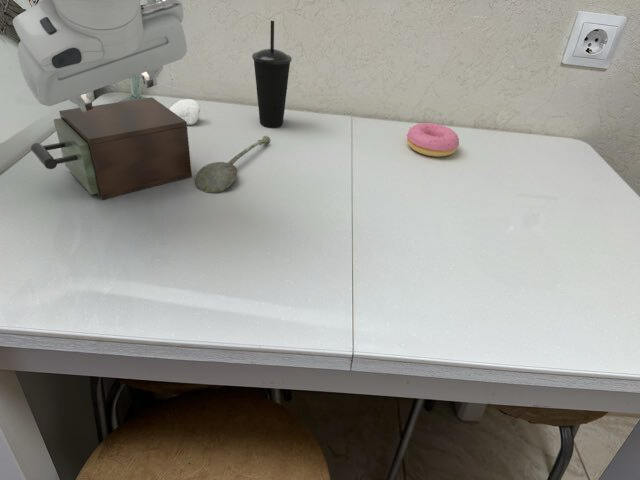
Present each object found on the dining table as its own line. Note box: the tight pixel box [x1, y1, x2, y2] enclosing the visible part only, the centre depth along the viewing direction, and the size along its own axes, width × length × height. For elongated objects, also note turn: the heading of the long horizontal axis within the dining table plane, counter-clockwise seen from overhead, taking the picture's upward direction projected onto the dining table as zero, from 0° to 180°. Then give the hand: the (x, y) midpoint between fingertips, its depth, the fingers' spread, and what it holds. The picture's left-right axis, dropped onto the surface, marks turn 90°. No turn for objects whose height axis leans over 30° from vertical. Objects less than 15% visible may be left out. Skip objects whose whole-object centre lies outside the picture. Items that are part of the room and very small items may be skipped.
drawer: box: [30, 117, 99, 195], centre depth 76 cm, size 18×11×8 cm, turn 132°
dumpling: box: [168, 98, 201, 126], centre depth 100 cm, size 7×5×4 cm
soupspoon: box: [194, 135, 272, 194], centre depth 87 cm, size 22×3×7 cm
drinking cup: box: [251, 20, 293, 129], centre depth 98 cm, size 8×8×20 cm
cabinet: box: [58, 96, 193, 201], centre depth 78 cm, size 15×12×10 cm
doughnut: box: [406, 122, 460, 158], centre depth 101 cm, size 11×11×4 cm
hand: (118, 94), depth 69 cm, fingers open, 8 cm apart
